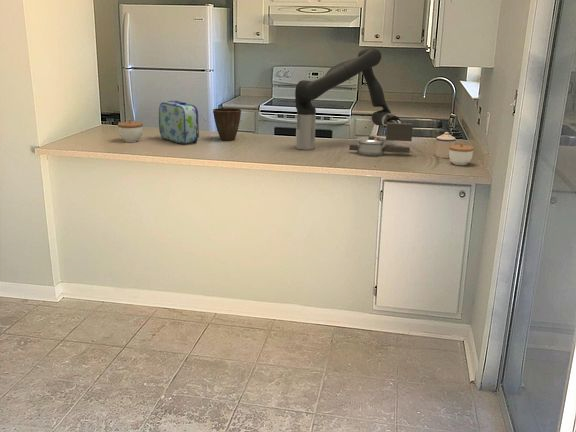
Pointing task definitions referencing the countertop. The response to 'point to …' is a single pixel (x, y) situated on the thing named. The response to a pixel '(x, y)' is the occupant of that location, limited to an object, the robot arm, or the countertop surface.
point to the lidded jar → (460, 154)
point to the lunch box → (178, 122)
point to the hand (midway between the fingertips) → (401, 127)
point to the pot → (376, 149)
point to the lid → (391, 134)
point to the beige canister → (444, 145)
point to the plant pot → (227, 122)
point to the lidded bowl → (130, 131)
